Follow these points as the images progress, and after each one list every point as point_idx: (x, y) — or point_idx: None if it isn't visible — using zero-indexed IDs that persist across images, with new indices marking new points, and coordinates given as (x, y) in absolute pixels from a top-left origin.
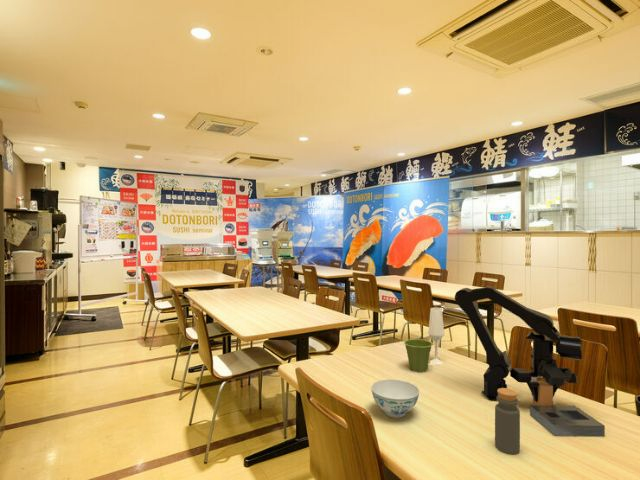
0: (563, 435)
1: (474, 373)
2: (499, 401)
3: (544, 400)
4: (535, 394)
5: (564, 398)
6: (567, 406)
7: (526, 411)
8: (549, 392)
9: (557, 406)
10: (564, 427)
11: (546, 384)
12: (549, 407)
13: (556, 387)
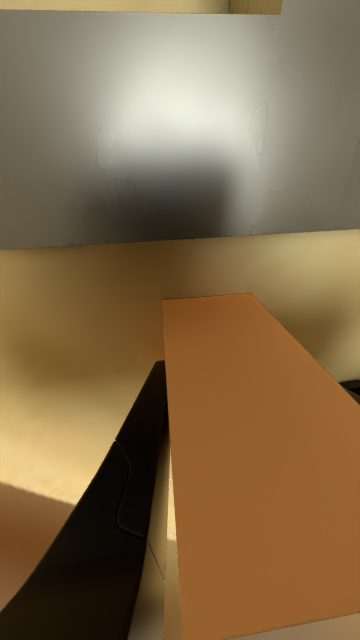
0: None
1: None
2: None
3: (252, 339)
4: (349, 391)
5: (22, 439)
6: (40, 219)
7: (356, 270)
8: (224, 427)
9: (188, 209)
10: None
11: (291, 625)
12: (328, 161)
13: (75, 569)
